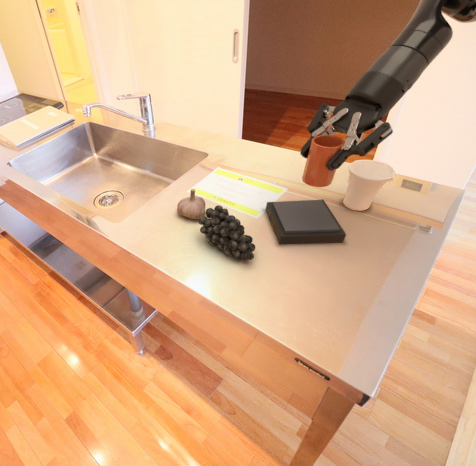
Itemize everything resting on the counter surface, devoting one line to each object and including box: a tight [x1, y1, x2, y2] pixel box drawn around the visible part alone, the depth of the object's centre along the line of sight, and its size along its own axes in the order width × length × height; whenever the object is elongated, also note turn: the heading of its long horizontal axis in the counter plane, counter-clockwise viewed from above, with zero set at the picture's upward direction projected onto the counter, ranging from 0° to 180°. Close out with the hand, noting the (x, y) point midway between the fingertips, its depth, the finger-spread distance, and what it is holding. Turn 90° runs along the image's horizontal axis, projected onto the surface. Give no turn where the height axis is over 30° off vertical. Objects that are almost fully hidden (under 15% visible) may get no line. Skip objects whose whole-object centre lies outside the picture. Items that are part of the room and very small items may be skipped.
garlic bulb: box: [176, 188, 206, 220], centre depth 81 cm, size 8×7×8 cm
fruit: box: [197, 204, 256, 261], centre depth 70 cm, size 9×8×15 cm
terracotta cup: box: [301, 135, 346, 188], centre depth 63 cm, size 5×5×8 cm
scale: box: [265, 199, 347, 245], centre depth 74 cm, size 13×13×3 cm
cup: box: [342, 159, 396, 212], centre depth 75 cm, size 9×9×10 cm
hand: (315, 162), depth 62 cm, fingers closed on terracotta cup, 5 cm apart
